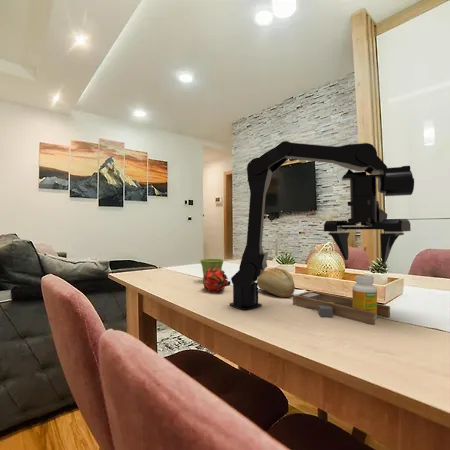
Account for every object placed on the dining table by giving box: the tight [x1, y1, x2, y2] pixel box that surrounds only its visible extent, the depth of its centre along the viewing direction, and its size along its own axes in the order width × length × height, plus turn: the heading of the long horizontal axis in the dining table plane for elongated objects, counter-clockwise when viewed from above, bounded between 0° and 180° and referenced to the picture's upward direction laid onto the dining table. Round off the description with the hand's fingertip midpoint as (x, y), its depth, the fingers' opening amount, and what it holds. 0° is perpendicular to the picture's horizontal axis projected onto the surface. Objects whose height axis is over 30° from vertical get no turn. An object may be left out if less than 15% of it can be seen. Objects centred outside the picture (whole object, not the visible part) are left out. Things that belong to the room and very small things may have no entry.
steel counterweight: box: [302, 293, 320, 300], centre depth 83 cm, size 5×2×2 cm, turn 129°
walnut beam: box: [292, 290, 391, 326], centre depth 77 cm, size 9×22×3 cm, turn 39°
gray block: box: [317, 305, 334, 318], centre depth 73 cm, size 3×3×2 cm
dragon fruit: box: [202, 267, 232, 294], centre depth 100 cm, size 8×8×12 cm
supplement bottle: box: [351, 274, 378, 319], centre depth 72 cm, size 5×5×10 cm
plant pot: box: [199, 258, 225, 275], centre depth 115 cm, size 9×9×9 cm
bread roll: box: [256, 268, 296, 298], centre depth 96 cm, size 10×15×8 cm, turn 30°
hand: (364, 261), depth 72 cm, fingers open, 9 cm apart
